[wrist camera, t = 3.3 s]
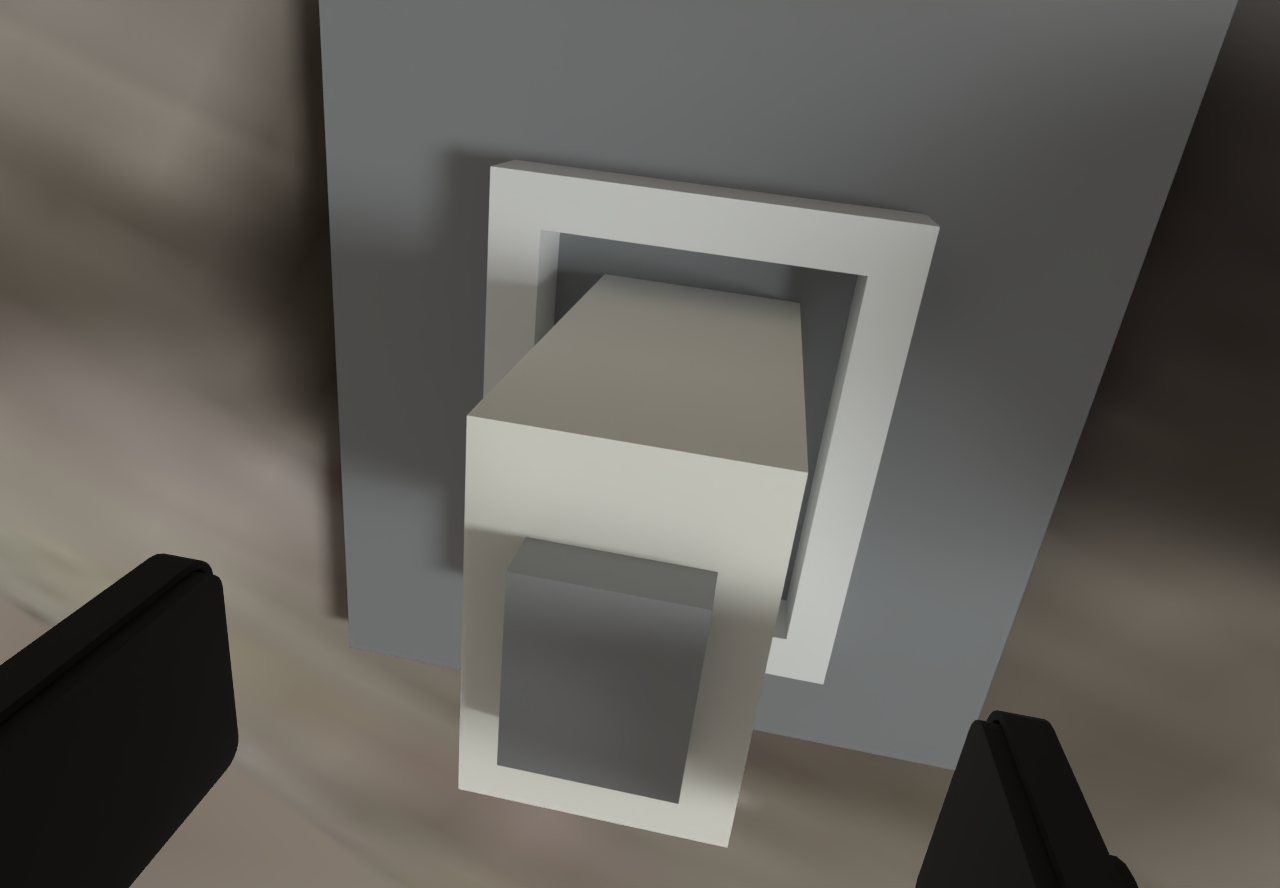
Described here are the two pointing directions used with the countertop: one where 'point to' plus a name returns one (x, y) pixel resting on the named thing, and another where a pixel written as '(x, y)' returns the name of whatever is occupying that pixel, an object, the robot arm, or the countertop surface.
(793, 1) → the socket panel
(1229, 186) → the countertop surface
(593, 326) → the plug
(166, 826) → the robot arm
